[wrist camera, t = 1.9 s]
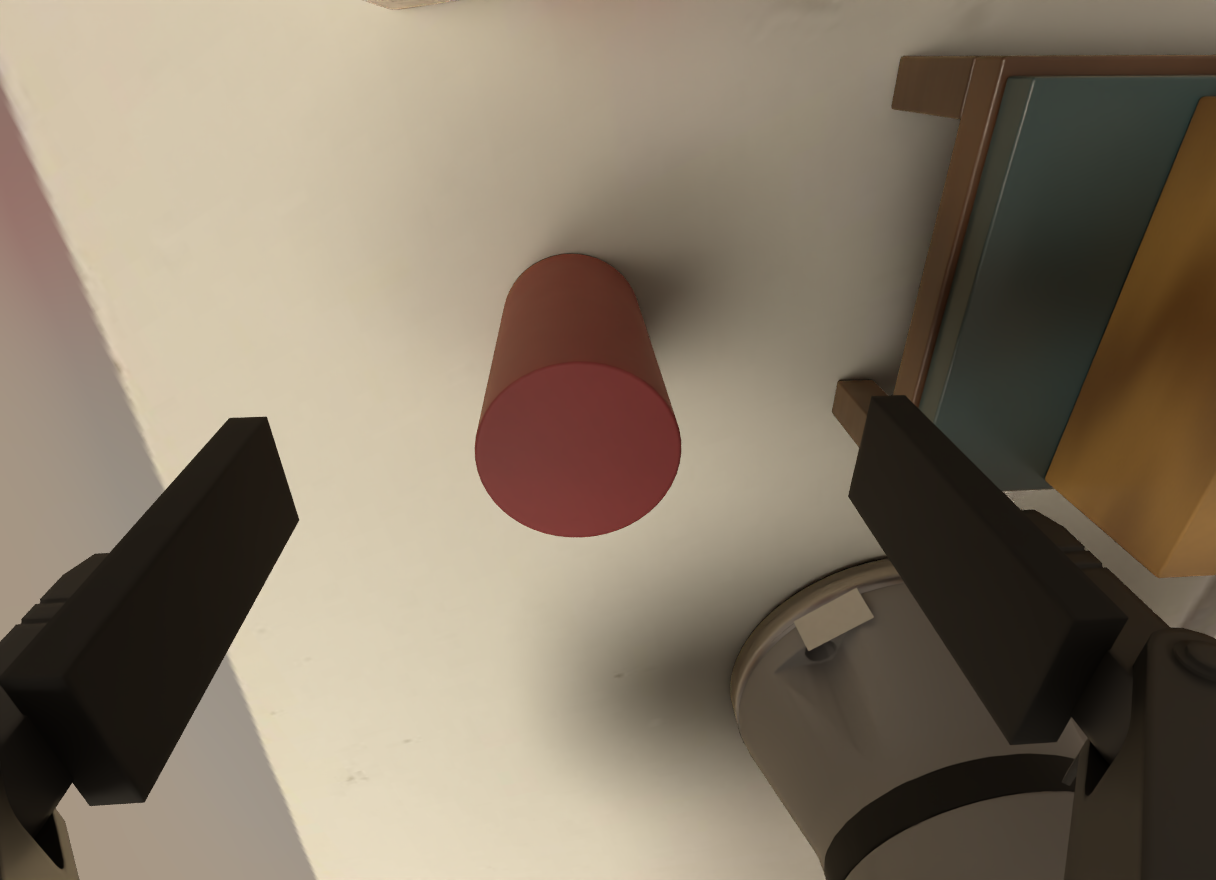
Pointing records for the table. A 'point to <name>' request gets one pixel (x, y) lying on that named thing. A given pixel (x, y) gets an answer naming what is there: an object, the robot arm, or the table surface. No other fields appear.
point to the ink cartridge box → (405, 3)
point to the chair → (1074, 289)
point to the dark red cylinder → (575, 404)
